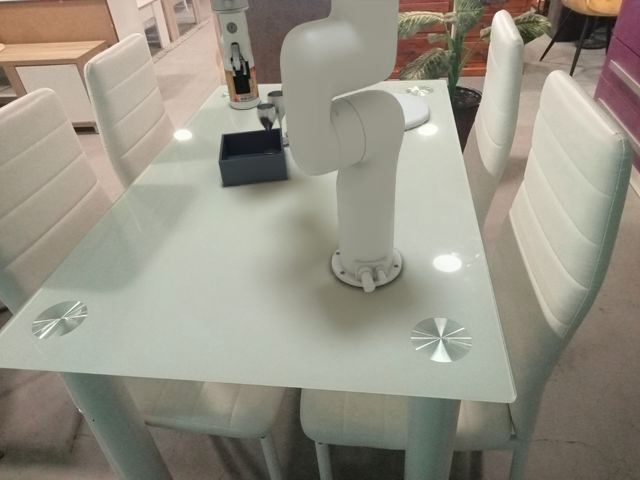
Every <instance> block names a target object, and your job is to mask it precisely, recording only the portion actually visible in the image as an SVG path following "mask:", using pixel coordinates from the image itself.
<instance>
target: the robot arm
mask: <svg viewBox="0 0 640 480" xmlns="http://www.w3.org/2000/svg"><path fill="white" fill-rule="evenodd" d="M209 3H210V8H211V12H212V13H213V14H215V15H217V14H218V20H219V26H220V30H221V31H220V32H221V35H222V36H223V41H224V46H225V50H226V54H227V59H228V62H229V63H230V64H232V71H233V82H234V87H235V92H236V94H237V95H240V94H249V93H250V92H251V90H250V84H249V79H251V75H250V69H249V63H248V62H251V60H252V55H253V51H252V44H251V45H250V41H251V38H250V39H249V37H250V33H249V28H248V27H249V26H248V20H247V16H246V12H245V11H247V10H249V8H250V6H249V0H209ZM330 3H331V6H330V12H329V15H328V16H327V17H325V18H320V19H315V20H311V21H307V22H303V23H301V24H299V25H296V26H294V27H293V28H292V29H291V30H289V32H288V33H287V34H286V36H285V37H284V39H283V42H282V45H281V49H280V57H279V66H280V67H279V68H280V79H281V89H282V90H283V99H284V108H285V115H284V117H285V126H286V132H287V134H286V136H287V137H288V142H289V143H288V146H289V150H290V155H291V157H292V159H293V161H294V164H295V165H296V167H297V168H298V170H300V171H301V172H302V173H304V174H305V175H308V176H311V177H318V176H324V175H327V174H331V173H333V172H336V171H337V175H336V179H335V180H336V181H335V188H336V189H335V191H336V204H337V205H336V209H337V224H338V227H337V228H338V244H339V245H338V246H339V247H338V248H337V249H336V250H335V251H334V252H333V254H332V257H331V269H332V272H333V273H334V275H335V276H336V277H337V278H338V279H339V280H340V281H342V282H344V283H346V284H347V285H350V286H354V287H359V288H363V290H364V292H366V293H372V292H373V291H375V289H376V287H380V286H383V285H387V284H388V283H390V282H392V281H393V280H395V279H396V278H397V276H398V275H399V274H400V273H401V270H402V264H403V259H402V255H401V254H400V252H399V251H398V249H397V248H396V247H394V245H395V243H394V242H395V219H396V218H395V216H396V215H395V212H396V191H397V190H396V189H397V188H396V187H397V170H398V162H399V156H400V152H401V150H402V149H401V148H402V144H403V140H404V135H405V131H406V130H405V117H404V112H403V109H402V106H401V104H400V103H399V101H398V100H397V99H396V98H395V97H394V96H393V95H392V94H390V93H391V92H389V91H386V90H382V89H367V90H363V89H365V88H369V87H371V86H375V85H377V84H379V83H382V82H384V81H385V80H387V79H388V78H389V77H390V76H391V75H392V73H393V72H394V69H395V67H396V61H397V54H398V53H397V52H398V39H399V37H398V36H399V35H398V32H399V14H400V13H399V10H400V0H330ZM358 90H362V91H358ZM356 91H358V92H356ZM352 92H355V93H352ZM349 93H352V94H349ZM345 94H348V95H345ZM342 95H345V96H342ZM339 96H341V97H339ZM335 97H337V98H335ZM334 98H335V99H334Z"/></svg>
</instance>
